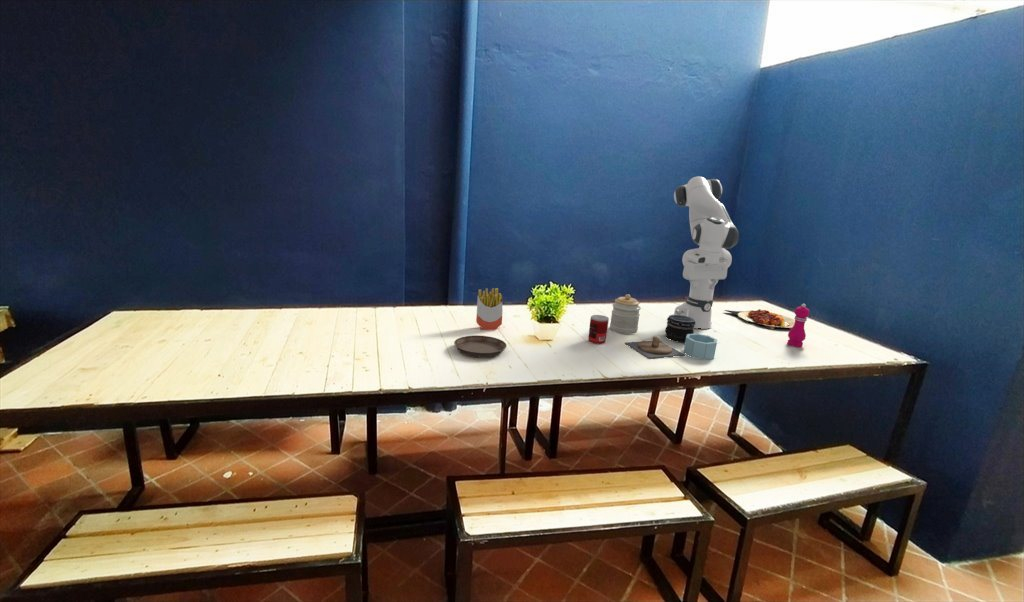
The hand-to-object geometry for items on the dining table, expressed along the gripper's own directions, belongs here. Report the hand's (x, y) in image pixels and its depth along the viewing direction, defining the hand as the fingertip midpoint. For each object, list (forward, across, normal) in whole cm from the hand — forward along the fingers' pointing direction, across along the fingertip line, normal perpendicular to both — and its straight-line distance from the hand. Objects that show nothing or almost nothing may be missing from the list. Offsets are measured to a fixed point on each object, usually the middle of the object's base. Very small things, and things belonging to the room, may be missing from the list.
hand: (702, 289), depth 219 cm
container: (+27, -2, -12) cm, 30 cm away
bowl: (+26, +1, +7) cm, 27 cm away
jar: (+28, +18, -27) cm, 42 cm away
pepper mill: (+27, -56, +4) cm, 62 cm away
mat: (+27, +18, -1) cm, 32 cm away
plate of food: (+29, -71, -30) cm, 82 cm away
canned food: (+27, +39, -15) cm, 49 cm away
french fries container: (+28, +81, -38) cm, 94 cm away
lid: (+26, +18, -1) cm, 32 cm away
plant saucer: (+27, +93, -12) cm, 97 cm away
